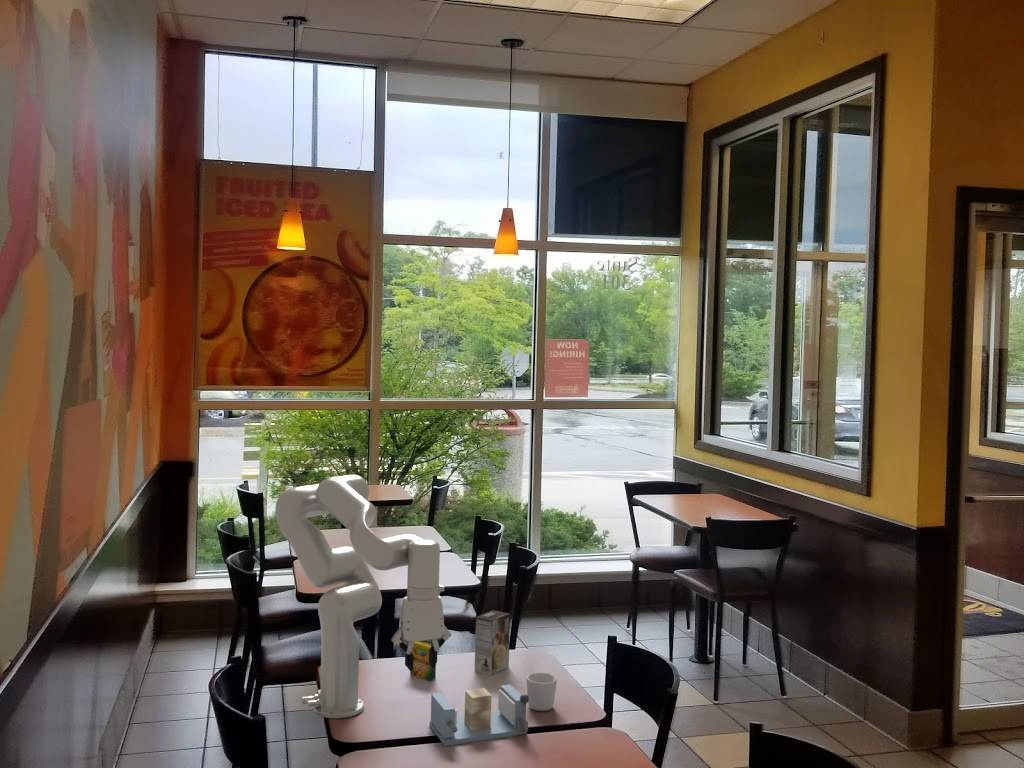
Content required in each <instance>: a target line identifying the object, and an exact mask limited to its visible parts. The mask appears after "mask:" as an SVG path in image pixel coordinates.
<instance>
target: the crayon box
mask: <svg viewBox="0 0 1024 768" xmlns="http://www.w3.org/2000/svg"><path fill="white" fill-rule="evenodd" d="M430 648H431V643H430V640H426V641H416V642H414V645H413V648H412V653H413V655H414V657H413V670H412V671H410V670H409V675H410V676H412V677H416V678H418V679H421V680H424V681H428V682H431V681H433V680H435V679H437V678H436V677H437V676H436V674H437V673H436V671H437V670H436V669H437V663H435V668H432V667H431V666H430V665H429V649H430Z"/></svg>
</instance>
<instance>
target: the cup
mask: <svg viewBox="0 0 1024 768" xmlns="http://www.w3.org/2000/svg"><path fill="white" fill-rule="evenodd" d="M525 680H526V689H527V690H526V691H527V694H526V695H527V696H528V697H529V701H528V702H527V703H528V706H529V708H531V709H532V710H534V711H537V712H545V711H550V710H551V709H553V707H554V704H555V696H556V689H557V682H558V679H557V676H555V675H554V674H551V673H547V672H533V673H529V674H528V675H527V676H526V679H525Z"/></svg>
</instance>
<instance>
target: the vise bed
mask: <svg viewBox="0 0 1024 768" xmlns="http://www.w3.org/2000/svg"><path fill="white" fill-rule="evenodd" d="M528 701H529V697H528V694H524V693H522V694H521V693H520V692H519V691H518V690H516V689H515V688H514V687H513V686H512V685H511V684H504V685H500V687H499V689H498V701H497V702H498V703H497V704H498V706H497V707H498V708H497V710H498V711H493V712H492V711H491V728H485V729H478V730H471V729H470V728H469V727H468V726H467V725H466V724H465V722H464V719H465V715H463V716H457V724H456V727H457V732H456V733H454V737H450V738H443V737H442V735H441V734H440V733H439V731H438V730H437V729H436V727H435V726H434V725H433V723H432V722H431V720H429V727H430V729H431V730H432V731H433V732H434V734H435V735H436V736H437V738H438V739H439V740H440V742H441V743H442V744H443V746H444V747H446V746H452V745H453V746H454V745H461V744H466V743H467V744H468V743H474V742H479V741H482V742H483V741H489V740H493V739H500V738H507V737H514V736H521V735H526V734H527V731H529V720H528V719H527V703H528Z"/></svg>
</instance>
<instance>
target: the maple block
mask: <svg viewBox="0 0 1024 768" xmlns="http://www.w3.org/2000/svg"><path fill="white" fill-rule="evenodd" d="M491 712H492V694H491V693H489V691H488V690H487V689H486V688H484V687H483V688H482V687H481V688H476V689H466V690H465V693H464V716H465V719H464V722H465V724H466V725H467V726H468V727H469V728H470V729H471V730H478V729H485V728H491Z"/></svg>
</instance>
